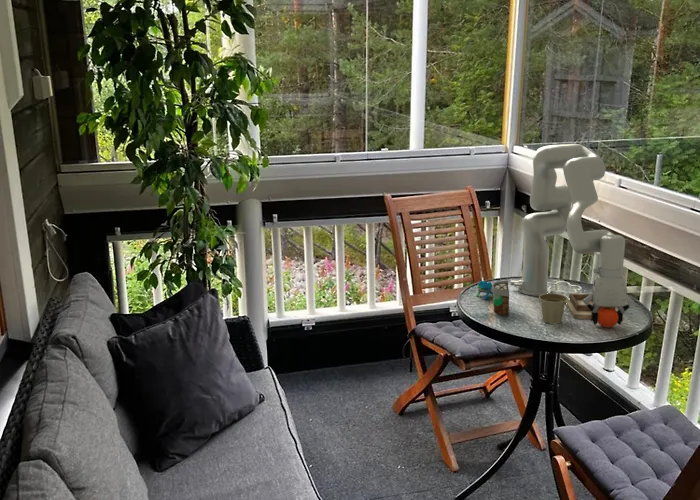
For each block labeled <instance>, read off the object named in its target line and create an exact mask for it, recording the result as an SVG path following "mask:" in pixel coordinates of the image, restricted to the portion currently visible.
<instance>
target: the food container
mask: <svg viewBox="0 0 700 500" xmlns="http://www.w3.org/2000/svg"><path fill="white" fill-rule="evenodd" d="M492 285H493V286H492V289H491V291H492V292H493V295H492V298H493V299H492V300H493V313H495V314H496V315H498V316H503V317H509V311H510V310H509V309H510V288H509V280H500V281H496V282H494V283H493V284H492Z"/></svg>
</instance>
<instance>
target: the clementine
mask: <svg viewBox="0 0 700 500" xmlns="http://www.w3.org/2000/svg"><path fill="white" fill-rule="evenodd" d="M597 313H598V317H597V324H599V325H600V326H601V327H604V328H612V327H614V326H616V325H617V324H618V323H617V322H618V319H619V317H618V313H617V312H616V310H615V309H613V308H612V307H603V308H601V309H600V310H599V311H598V312H597Z"/></svg>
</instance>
